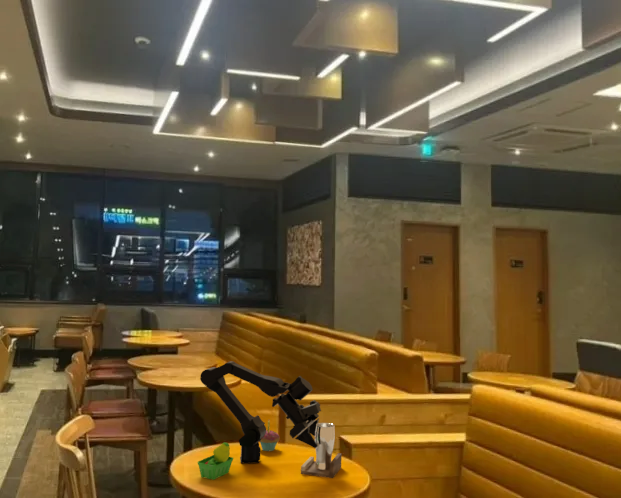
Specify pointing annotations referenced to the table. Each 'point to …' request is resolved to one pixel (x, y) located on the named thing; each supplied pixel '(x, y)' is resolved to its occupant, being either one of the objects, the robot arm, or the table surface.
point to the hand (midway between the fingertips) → (319, 443)
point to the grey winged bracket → (310, 469)
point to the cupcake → (269, 440)
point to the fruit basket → (216, 463)
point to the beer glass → (324, 445)
